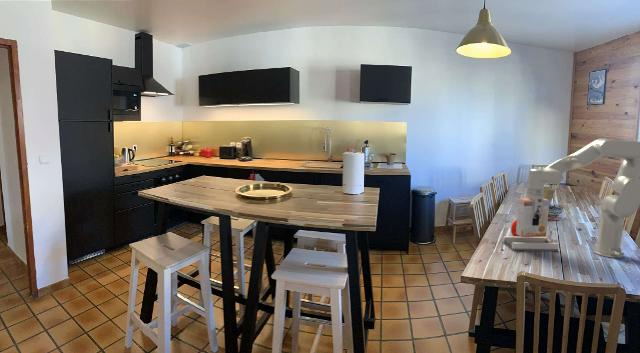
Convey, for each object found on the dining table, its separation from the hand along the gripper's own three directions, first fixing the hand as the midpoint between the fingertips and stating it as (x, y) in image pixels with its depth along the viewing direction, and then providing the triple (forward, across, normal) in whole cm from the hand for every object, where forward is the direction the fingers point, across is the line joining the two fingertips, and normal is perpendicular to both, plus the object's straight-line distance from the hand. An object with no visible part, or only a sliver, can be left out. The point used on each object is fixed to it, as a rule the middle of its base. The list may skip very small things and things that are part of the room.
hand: (531, 223), depth 196 cm
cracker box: (+7, 0, 0) cm, 7 cm away
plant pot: (+14, +91, -60) cm, 110 cm away
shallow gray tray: (+14, 0, 0) cm, 14 cm away
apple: (+14, +12, -1) cm, 18 cm away
